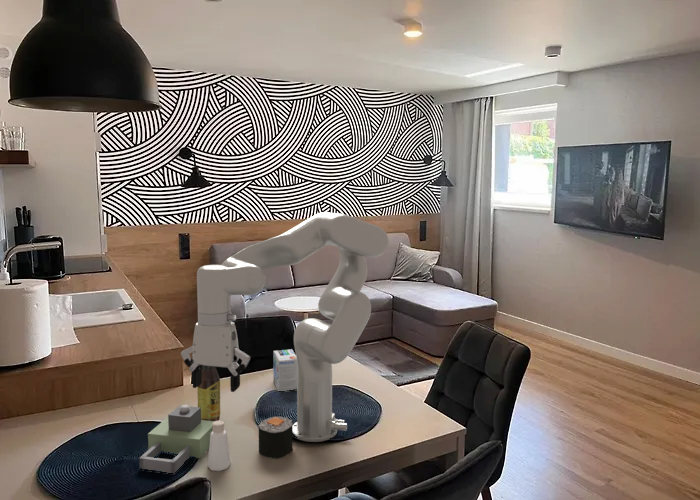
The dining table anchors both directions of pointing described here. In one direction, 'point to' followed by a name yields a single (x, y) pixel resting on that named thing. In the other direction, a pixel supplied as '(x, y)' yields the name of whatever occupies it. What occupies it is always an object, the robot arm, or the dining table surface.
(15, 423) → the dining table surface
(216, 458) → the pepper shaker
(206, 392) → the sauce bottle
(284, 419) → the sushi
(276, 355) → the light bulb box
